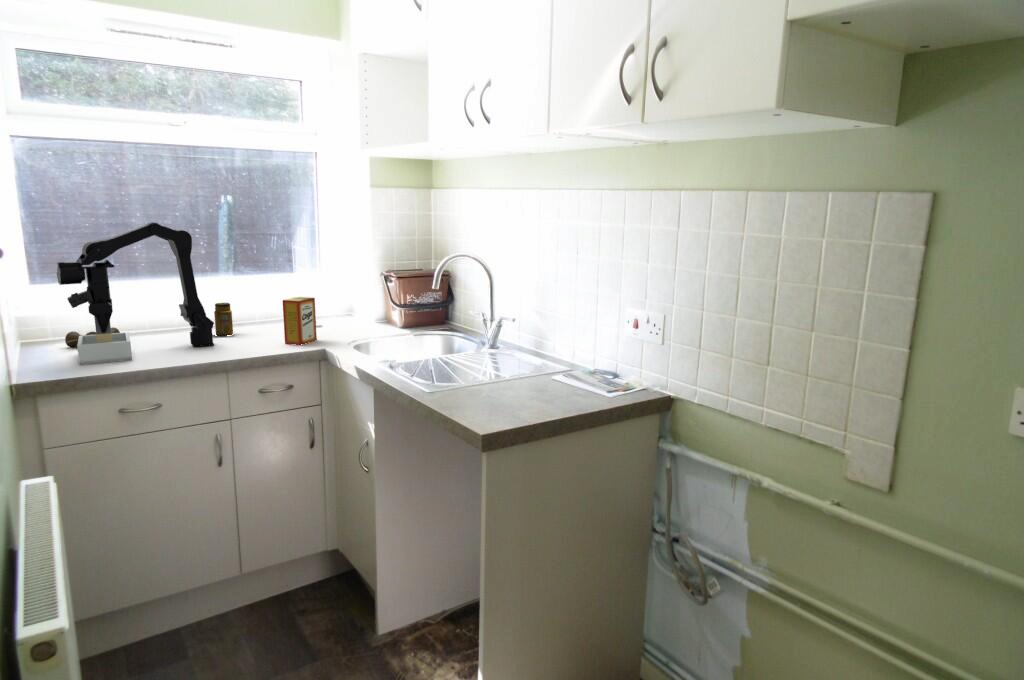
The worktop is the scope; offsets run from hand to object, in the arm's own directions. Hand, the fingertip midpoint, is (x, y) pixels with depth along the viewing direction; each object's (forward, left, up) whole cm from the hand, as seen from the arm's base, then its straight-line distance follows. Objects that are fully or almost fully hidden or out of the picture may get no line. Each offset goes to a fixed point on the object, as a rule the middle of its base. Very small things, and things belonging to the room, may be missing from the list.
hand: (103, 331), depth 213 cm
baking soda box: (-60, +5, -8) cm, 61 cm away
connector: (0, 0, -3) cm, 3 cm away
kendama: (+4, -23, -9) cm, 25 cm away
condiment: (-38, -22, -8) cm, 45 cm away
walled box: (0, 0, -8) cm, 8 cm away
